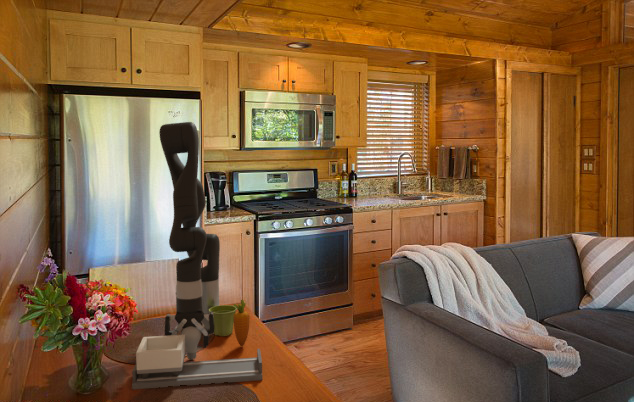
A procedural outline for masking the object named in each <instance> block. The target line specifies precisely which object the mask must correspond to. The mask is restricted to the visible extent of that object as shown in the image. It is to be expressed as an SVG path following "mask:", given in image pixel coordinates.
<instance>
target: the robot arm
mask: <svg viewBox="0 0 634 402" xmlns="http://www.w3.org/2000/svg"><path fill="white" fill-rule="evenodd" d="M158 135H159V140H160V144H161V149H162V151H163V154H164V158H165V161H166V163H167V167H168V170H169V173H170V177H171V181H172V182H171V183H172V188H173V193H172V200H173V201H172V202H173V204H172V205H173V222H172V227H171V231H170V234H169V239H168V240H169V242H168V244H169V247H170V248H171V250H172V251H174V252H176V253H184V252H185V253H186V254H187V256H188V257H186V258H183V259H180V260H178V261H177V262H176V265H175V266H176V270H175V271H176V273H175V274H176V285H175V303H176V304H175V306H176V307H175V308H176V310H175V312H176V313H175V314H170V313H167V314H165V317H164V336H169V335H178V333H179V332H181V330H182V329H185V328H187V327H197V328H198V329H199V330H200V331H201V332H202V334H203V348H204V349H207V347H208V346H209V335H211V334H214V329H215V328H214V316H213V312H209V309H210V308H211V307H214V306H218V305H220V278H219V277H220V274H219V273H220V249H221V248H220V247H221V246H220V243H221V242H220V239H219V238H220V237H219V236H218V235H217V234H215V233H206V231H205V229H204V228H203V227H201V226H197V224H198V221H199V219H200V218H201V215H202V214H203V212H204V210H205V207H206V203H207V202H206V201H207V200H206V195H205V190H204V186H203V184H202V182H201V181H200V179H198V174H199V173H198V172H199V153H200V151H199V149H200V139H199V138H200V137H199V132H198V129H197V126H196V124H195V123H194V122H192V121H183V122H173V123H165V124H163V125H162V124H161V126H160V128H159V134H158ZM186 153H187V158H186V159H187V160H186V161H185V162H186V163H185V165H184V163H183V162H182V160H181V158H180V157H179V156H178V154H186ZM202 261H207V264H206V265H205V266H202ZM174 320H175V321H176V323H177V325H176V326H175V328H174V329H173V330H171V323H173V321H174Z"/></svg>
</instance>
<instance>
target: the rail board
mask: <svg viewBox="0 0 634 402" xmlns="http://www.w3.org/2000/svg"><path fill="white" fill-rule="evenodd" d="M256 351H257V353H256V354H257V355H256V356H257V357H246V358H244V357H243V358H242V357H241V358H229V359H228V358H227V359H215V360H212V359H211V360H199V361H184V363H183V367H182V371H180V373H179V375H178V376H177V377H174V376H173V375H172V372H159V373H149V376H148V378H146V379H143V378H141V374H137V361H135V364H134V366H133V369H132V371H131V374H132V376H131V377H132V384H131V389H132V390H143V389H156V388H159V387H160V388H169V387H168V386H173V387H181V386H180V385H187V386H197V385H199V384H201V385H212V384H211V383H215V384H223V383H224V382H228V383H238V382H240V383H241V382H242V383H243V382H252V381H253V382H254V381H256V382H257V381H263V361H262V359H263V358H262V352H261V348H257V349H256ZM224 384H225V383H224Z"/></svg>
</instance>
